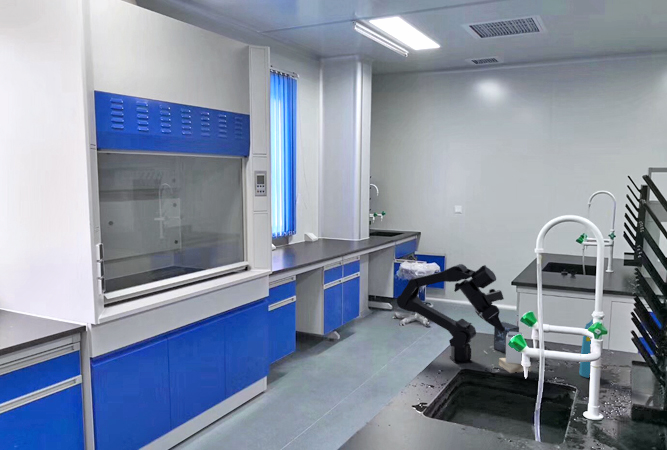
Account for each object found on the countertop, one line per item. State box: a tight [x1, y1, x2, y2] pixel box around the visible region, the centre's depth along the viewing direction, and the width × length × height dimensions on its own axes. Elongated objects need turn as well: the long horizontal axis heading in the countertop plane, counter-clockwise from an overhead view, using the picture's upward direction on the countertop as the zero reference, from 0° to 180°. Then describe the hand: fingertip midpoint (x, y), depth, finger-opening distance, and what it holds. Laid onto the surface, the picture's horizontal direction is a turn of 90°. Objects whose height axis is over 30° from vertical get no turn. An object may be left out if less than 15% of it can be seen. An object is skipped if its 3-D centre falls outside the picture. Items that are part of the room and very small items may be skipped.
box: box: [493, 321, 520, 354], centre depth 200 cm, size 8×6×11 cm
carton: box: [505, 331, 525, 364], centre depth 182 cm, size 6×6×10 cm
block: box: [498, 357, 532, 374], centre depth 182 cm, size 8×8×3 cm
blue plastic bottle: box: [578, 318, 594, 379], centre depth 173 cm, size 7×5×19 cm, turn 144°
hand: (500, 329), depth 184 cm, fingers open, 9 cm apart
